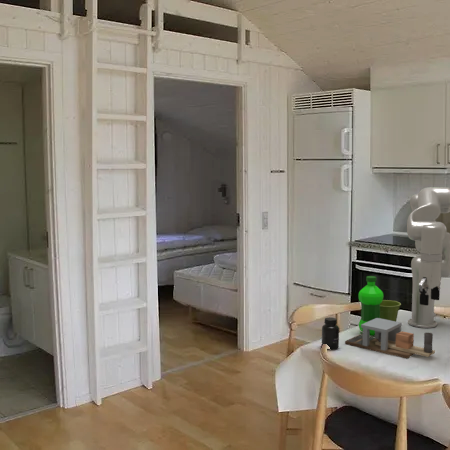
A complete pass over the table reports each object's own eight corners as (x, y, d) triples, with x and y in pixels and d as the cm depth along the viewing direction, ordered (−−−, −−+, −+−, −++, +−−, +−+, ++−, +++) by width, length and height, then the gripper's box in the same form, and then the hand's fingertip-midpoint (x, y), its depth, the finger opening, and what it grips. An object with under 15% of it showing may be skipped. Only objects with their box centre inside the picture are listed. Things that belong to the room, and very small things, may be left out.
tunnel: (376, 337, 248) (376, 317, 247) (401, 343, 241) (401, 322, 240) (360, 345, 239) (361, 324, 238) (385, 351, 231) (386, 329, 230)
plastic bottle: (355, 335, 255) (356, 278, 252) (361, 329, 264) (362, 273, 261) (379, 338, 251) (381, 280, 248) (384, 331, 260) (385, 275, 257)
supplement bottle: (338, 351, 236) (339, 321, 234) (321, 350, 237) (321, 320, 236) (338, 345, 243) (339, 316, 241) (321, 344, 244) (322, 316, 242)
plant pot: (395, 323, 273) (396, 299, 271) (404, 331, 261) (404, 306, 259) (369, 324, 272) (370, 299, 271) (377, 331, 260) (377, 306, 259)
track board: (359, 337, 253) (359, 334, 253) (420, 350, 235) (420, 347, 235) (344, 343, 244) (345, 340, 244) (407, 358, 226) (407, 355, 226)
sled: (382, 341, 243) (382, 322, 242) (434, 352, 228) (435, 332, 227) (375, 344, 238) (375, 325, 237) (428, 357, 224) (429, 336, 223)
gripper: (431, 253, 231) (429, 296, 233) (411, 259, 218) (409, 305, 221) (450, 255, 226) (448, 299, 228) (431, 262, 213) (429, 308, 216)
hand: (429, 302), depth 225 cm, fingers open, 9 cm apart
